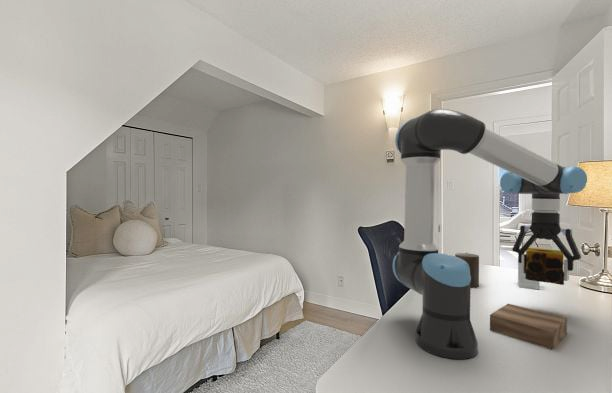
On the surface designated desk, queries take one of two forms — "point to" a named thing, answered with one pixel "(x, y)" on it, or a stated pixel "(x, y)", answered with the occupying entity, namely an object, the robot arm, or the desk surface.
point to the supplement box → (524, 282)
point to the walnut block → (529, 325)
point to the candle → (544, 265)
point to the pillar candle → (471, 267)
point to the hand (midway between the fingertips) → (544, 276)
